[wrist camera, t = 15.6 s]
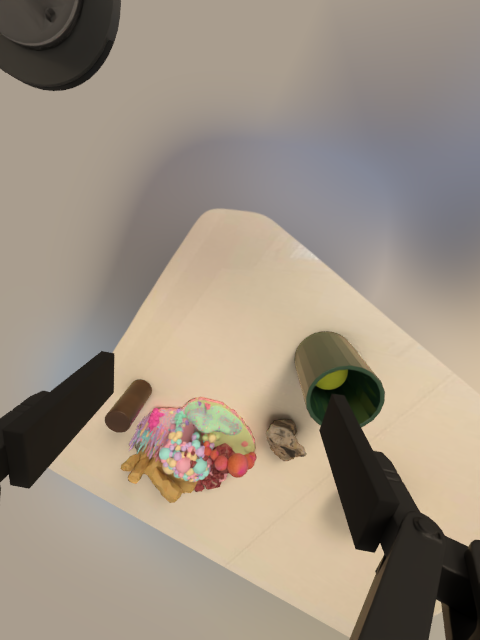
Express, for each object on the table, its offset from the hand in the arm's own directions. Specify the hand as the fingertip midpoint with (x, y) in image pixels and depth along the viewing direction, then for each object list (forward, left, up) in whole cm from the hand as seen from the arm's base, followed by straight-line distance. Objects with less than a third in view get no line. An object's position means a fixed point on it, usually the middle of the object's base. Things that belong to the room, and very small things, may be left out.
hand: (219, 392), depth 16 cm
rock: (+29, +13, -33) cm, 46 cm away
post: (+25, -17, -33) cm, 45 cm away
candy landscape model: (+36, -5, -33) cm, 49 cm away
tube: (+11, +17, -33) cm, 38 cm away
